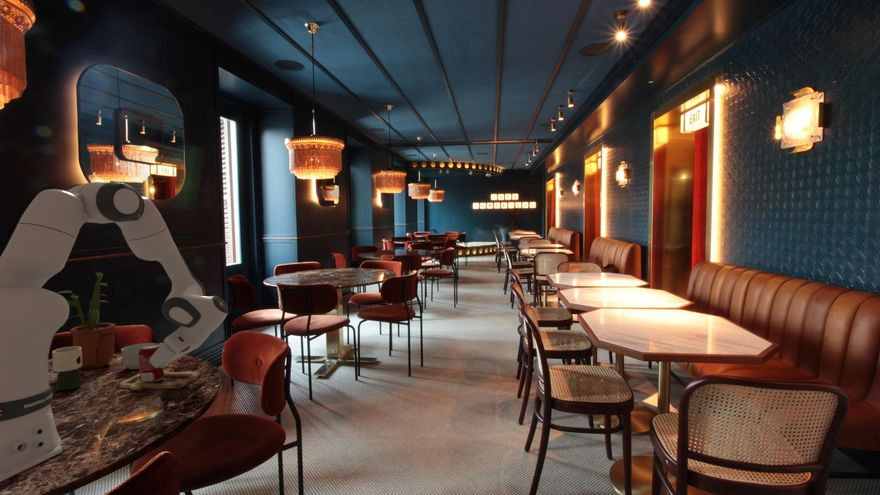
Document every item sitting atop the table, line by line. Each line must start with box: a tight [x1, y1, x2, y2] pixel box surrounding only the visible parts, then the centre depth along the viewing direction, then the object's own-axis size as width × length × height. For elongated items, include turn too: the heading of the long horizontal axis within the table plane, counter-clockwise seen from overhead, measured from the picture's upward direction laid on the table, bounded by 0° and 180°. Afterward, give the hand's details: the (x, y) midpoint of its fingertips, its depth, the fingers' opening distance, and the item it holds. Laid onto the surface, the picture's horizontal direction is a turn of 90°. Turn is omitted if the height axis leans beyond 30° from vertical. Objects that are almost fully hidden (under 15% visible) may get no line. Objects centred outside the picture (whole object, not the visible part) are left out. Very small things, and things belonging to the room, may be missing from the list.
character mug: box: [51, 346, 83, 391], centre depth 138 cm, size 11×7×13 cm, turn 39°
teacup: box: [120, 342, 164, 371], centre depth 160 cm, size 14×11×8 cm
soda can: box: [138, 343, 165, 384], centre depth 144 cm, size 7×7×12 cm
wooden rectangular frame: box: [115, 369, 202, 391], centre depth 144 cm, size 15×21×1 cm
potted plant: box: [57, 272, 116, 370], centre depth 156 cm, size 17×16×35 cm
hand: (162, 365), depth 144 cm, fingers closed
